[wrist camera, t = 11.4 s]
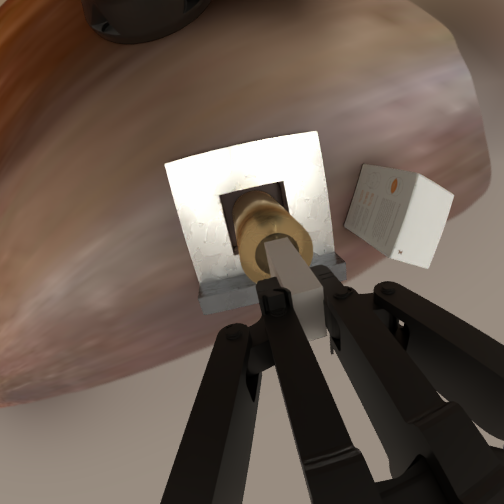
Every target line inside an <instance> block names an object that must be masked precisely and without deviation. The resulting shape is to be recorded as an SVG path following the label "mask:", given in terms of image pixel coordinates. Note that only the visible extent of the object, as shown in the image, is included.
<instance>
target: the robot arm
mask: <svg viewBox="0 0 504 504" xmlns="http://www.w3.org/2000/svg"><path fill="white" fill-rule="evenodd" d="M81 1H82V5H83V10H84V14H85V18H86V21H87V22H88V24H89V26H90V27H91V28H92V29H93V30H94V31H95V32H96V33H98V34H99V35H100V36H101V37H103V38H104V39H106V40H109V41H111V42H115V43H122V44H135V43H143V42H148V41H152V40H155V39H159V38H162V37H164V36H167V35H169V34H171V33H173V32H175V31H177V30H179V29H181V28H183V27H184V26H186V25H187V24H189V23H190V22H192V21H193V20H194V19H195V18H197V17H198V16H199V15H200V14H201V13H202V12H203V11H204V10H205V8H206V7H207V6H208V4H209V3H210V1H211V0H81ZM264 245H265V250H266V255H267V260H268V265H269V269H270V274H271V278H268V279H264V280H260V281H258V282H257V284H256V286H255V287H256V292H257V296H258V300H259V304H260V308H261V312H262V316H261V318H260V320H259V321H258V322H257V323H255V324H254V325H252V326H250V327H247V325H244V324H240V323H235V324H230V325H228V326H226V327H224V328H223V329H221V330H220V332H219V333H218V335H217V338H216V341H215V344H214V347H213V349H212V352H211V355H210V358H209V361H208V364H207V367H206V370H205V373H204V376H203V379H202V381H201V385H200V387H199V390H198V393H197V396H196V399H195V402H194V405H193V408H192V411H191V414H190V417H189V420H188V423H187V425H186V428H185V432H184V434H183V437H182V440H181V444H180V446H179V449H178V452H177V455H176V458H175V461H174V464H173V467H172V470H171V473H170V476H169V479H168V482H167V485H166V488H165V491H164V494H163V497H162V500H161V503H160V504H242V501H243V495H244V490H245V484H246V477H247V472H248V466H249V460H250V454H251V447H252V441H253V434H254V428H255V421H256V414H257V407H258V400H259V393H260V386H261V379H262V371H264V370H266V369H268V368H270V367H272V366H274V365H275V367H276V372H277V375H278V379H279V383H280V387H281V391H282V394H283V398H284V402H285V406H286V410H287V413H288V417H289V421H290V425H291V429H292V432H293V436H294V440H295V443H296V447H297V451H298V455H299V459H300V462H301V466H302V469H303V474H304V477H305V481H306V485H307V488H308V492H309V496H310V500H311V504H504V447H503V449H501V448H497V447H493V446H489V445H488V444H487V442H486V440H485V439H484V437H483V436H482V435H481V433H480V432H479V430H478V429H477V427H476V426H475V424H474V423H476V424H477V425H478V426H479V427H481V428H482V429H483V430H485V431H486V432H488V433H489V434H491V435H492V436H494V437H496V438H498V439H501V440H503V441H504V345H502V344H500V343H499V342H497V341H496V340H494V339H492V338H491V337H490V336H488V335H486V334H484V333H483V332H481V331H480V330H478V329H476V328H475V327H473V326H472V325H470V324H468V323H466V322H465V321H463V320H461V319H460V318H458V317H456V316H455V315H453V314H451V313H449V312H448V311H446V310H444V309H443V308H441V307H439V306H437V305H436V304H434V303H432V302H430V301H429V300H427V299H425V298H423V297H421V296H419V295H418V294H416V293H414V292H412V291H411V290H409V289H407V288H405V287H403V286H401V285H400V284H398V283H395V282H390V281H386V282H381V283H378V284H377V285H376V286H375V287H374V293H368V294H358V293H357V292H356V290H354V289H353V288H351V287H348V286H343V284H342V283H341V282H340V281H339V280H338V278H337V277H336V276H335V275H334V274H333V273H332V271H331V270H330V269H329V268H328V267H326V266H324V265H322V264H320V265H316V266H313V267H309V266H308V265H307V264H306V262H305V261H304V259H303V258H302V257H301V255H300V254H299V253H298V251H297V250H296V248H295V247H294V246H293V244H292V243H291V241H290V240H289V239H288V237H285V238H281V239H277V240H273V241H269V242H264ZM399 320H401V321H402V322H404V326H401V325H400V324H399ZM326 328H327V329H328V331H329V333H330V349H331V354H333V349H334V350H335V352H336V354H337V356H338V358H339V360H340V362H341V363H342V365H343V367H344V369H345V371H346V373H347V375H348V377H349V379H350V381H351V383H352V385H353V387H354V389H355V391H356V393H357V395H358V397H359V399H360V400H361V403H362V405H363V406H364V409H365V411H366V413H367V415H368V417H369V419H370V421H371V423H372V425H373V427H374V429H375V431H376V433H377V435H378V437H379V439H380V441H381V443H382V445H383V447H384V449H385V452H386V454H387V456H388V459H389V466H390V473H391V476H392V478H393V479H390V480H385V481H381V482H374V480H373V478H372V475H371V473H370V470H369V468H368V466H367V464H366V461H365V459H364V457H363V455H362V453H361V451H360V450H359V449H357V448H355V447H354V445H353V443H352V441H351V439H350V436H349V434H348V432H347V429H346V427H345V425H344V422H343V420H342V418H341V415H340V413H339V411H338V408H337V406H336V404H335V402H334V399H333V397H332V394H331V392H330V390H329V387H328V385H327V383H326V380H325V378H324V376H323V374H322V371H321V369H320V367H319V365H318V362H317V360H316V357H315V355H314V353H313V351H312V348H311V346H310V344H309V342H308V341H312V340H315V339H319V338H322V337H325V336H327V330H326ZM436 391H437V392H438V393H439V394H441V395H442V396H443V397H444V398H446V399H447V400H448V401H449V402H444V401H443V400H442V399H441V397H440V396H439V394H438V393H437V392H436ZM472 421H473V422H474V423H473V422H472Z"/></svg>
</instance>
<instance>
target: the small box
mask: <svg viewBox="0 0 504 504" xmlns="http://www.w3.org/2000/svg"><path fill="white" fill-rule="evenodd" d="M453 198H454V195H453V194H452V193H451V192H449V191H447V190H446V189H444V188H443V187H441V186H440V185H438V184H436V183H435V182H433V181H431V180H430V179H428V178H426V177H424V176H423V175H421V174H419V173H416V172H410V171H405V170H399V169H394V168H388V167H382V166H375V165H368V164H363V166H362V170H361V173H360V176H359V180H358V183H357V186H356V190H355V193H354V196H353V199H352V202H351V205H350V209H349V212H348V215H347V218H346V221H345V224H344V227H345V228H346V229H348V230H349V231H351V232H353V233H354V234H355V235H357V236H358V237H360V238H361V239H363V240H364V241H366V242H367V243H369V244H370V245H371V246H373V247H374V248H375V249H377V250H378V251H380V252H381V253H382V254H384V255H385V256H387V257H388V258H390V259H394V260H397V261H401V262H405V263H409V264H412V265H415V266H419V267H422V268H426V269H428V268H429V266H430V264H431V261H432V259H433V256H434V254H435V251H436V248H437V246H438V243H439V240H440V238H441V235H442V232H443V229H444V226H445V223H446V220H447V217H448V214H449V211H450V207H451V204H452V201H453Z"/></svg>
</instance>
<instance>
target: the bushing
mask: <svg viewBox="0 0 504 504" xmlns="http://www.w3.org/2000/svg"><path fill="white" fill-rule="evenodd" d="M232 217H233V223H234V228H235V234H236V240H237V245H238V251H239V257H240V262H241V266H242V269H243V271H244V272H245V274H246V275H247V276H248V277H249V279H251V280H252V281H253V282H255V283H256V284H257V282H258V281H260V280H264V279H268V278H271V274H270V269H269V265H268V260H267V255H266V250H265V245H264V242H269V241H273V240H277V239H281V238H285V237H288V239H289V240H290V241H291V243H292V244H293V246H294V247H295V248H296V250H297V251H298V253H299V254H300V255H301V257H302V258H303V259H304V261H305V262H306V264H307V265H308V266H310V264H311V261H312V257H313V243H312V240H311V237H310V235H309V233H308V232H307V231H306V229H305V228H304V227H303V226H302V225H301V224H300V223H299V222H298V221H297V220H296V219H295V218H293V217H292V216H291V215H290V214H289V213H288V212H287V211H286V210H285V209H284V208H283V207H282V206H281V205H280V204H279V203H278V202H277V201H276V200H275V199H274V198H273V197H272V196H270V195H269V194H268V193H266V192H263V191H258V190H254V191H249V192H246V193H244V194H243V195H241V196H240V197H239V198H238V199H237V201H236V202H235V204H234V206H233V210H232Z"/></svg>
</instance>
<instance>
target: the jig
mask: <svg viewBox="0 0 504 504" xmlns="http://www.w3.org/2000/svg"><path fill="white" fill-rule="evenodd" d="M165 168H166V172H167V176H168V180H169V183H170V187H171V191H172V194H173V198H174V202H175V205H176V209H177V212H178V216H179V219H180V223H181V226H182V229H183V233H184V236H185V239H186V243H187V246H188V249H189V252H190V256H191V259H192V262H193V265H194V268H195V271H196V274H197V277H198V280H199V283H200V287H199V295H198V300H199V303H200V306H201V308H202V311H203V314H204V315H208V314H212V313H217V312H221V311H226V310H230V309H235V308H239V307H244V306H248V305H252V304H256V303H259V300H258V296H257V292H256V287H255V286H256V283H255V282H253V281H252V280H251V279H249V277H248V276H247V275H246V274H245V272H244V271H243V269H242V266H241V262H240V257H239V251H238V246H236V247H233V246H232V242H231V238H230V234H229V230H228V226H227V222H226V218H225V214H224V210H223V206H222V202H221V198H220V195H221V194H225V193H230V192H234V191H238V190H242V189H247V188H251V187H256V186H260V185H265V184H270V183H274V182H279V183H280V189H281V194H282V199H283V204H284V209H285V210H286V211H287V212H288V213H289V214H290V215H291V216H292V217H293V218H295V219H296V220H297V221H298V222H299V223H300V224H301V225H302V226H303V227H304V228H305V229H306V231H307V232H308V233H309V235H310V237H311V240H312V243H313V257H312V261H311V264H310V266H309V267H313V266H316V265H320V264H322V265H324V266H326V267H328V268H329V269H330V270H331V271H332V273H333V274H334V275H335V276H336V277H337V278H338V280H339V281H343V280H347V279H346V262H345V261H344V260H343V259H342V258H340V257H339V256H338V255H337V254H336V253H335V251H334V241H333V232H332V223H331V215H330V207H329V200H328V192H327V186H326V179H325V173H324V167H323V161H322V155H321V149H320V144H319V138H318V133H317V131H314V132H307V133H300V134H293V135H287V136H281V137H275V138H270V139H264V140H259V141H254V142H249V143H244V144H240V145H235V146H231V147H226V148H222V149H218V150H214V151H210V152H206V153H202V154H198V155H194V156H190V157H187V158H183V159H180V160H176V161H173V162H169V163H166V164H165Z"/></svg>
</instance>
